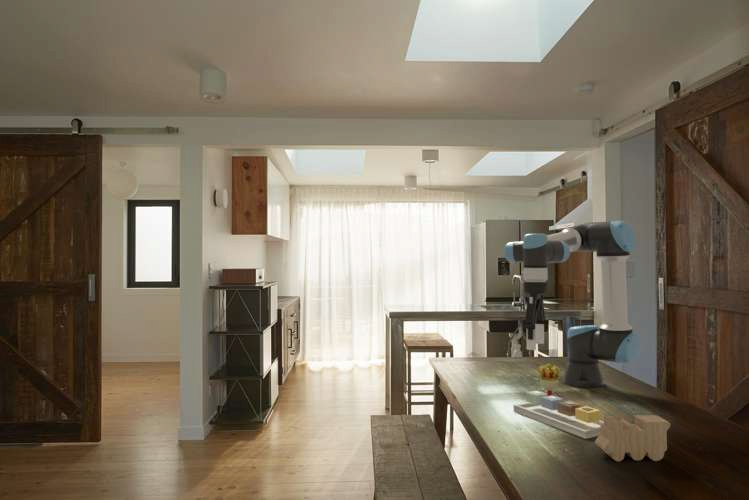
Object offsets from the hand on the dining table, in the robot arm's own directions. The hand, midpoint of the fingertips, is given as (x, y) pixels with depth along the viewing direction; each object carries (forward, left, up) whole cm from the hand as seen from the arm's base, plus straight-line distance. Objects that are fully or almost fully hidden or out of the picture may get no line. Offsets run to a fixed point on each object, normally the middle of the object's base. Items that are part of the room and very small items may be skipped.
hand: (535, 346), depth 170 cm
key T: (-3, +11, -19) cm, 22 cm away
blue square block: (-3, +4, -19) cm, 20 cm away
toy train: (+3, +37, -23) cm, 44 cm away
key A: (-3, +18, -19) cm, 26 cm away
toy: (-16, -10, -23) cm, 29 cm away
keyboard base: (-3, +7, -22) cm, 24 cm away
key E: (-3, -3, -19) cm, 20 cm away
